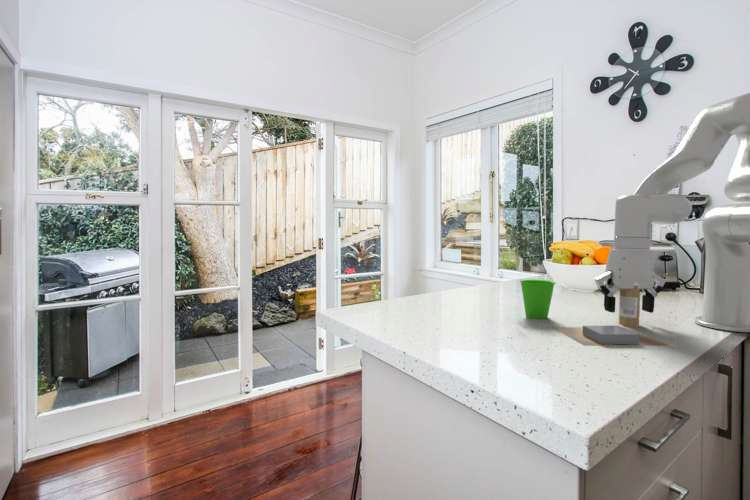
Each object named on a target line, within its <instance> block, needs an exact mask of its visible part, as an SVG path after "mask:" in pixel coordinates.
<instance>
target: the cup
mask: <svg viewBox="0 0 750 500" xmlns="http://www.w3.org/2000/svg"><path fill="white" fill-rule="evenodd" d="M519 283H520V285H521V290H522V291H521V292H522V299H523V304H524V314H525V317H526V318H527V319H528V318H529V319H535V320H546V319H548V317H549V312H550V307H551V302H552V298H553V297H552V296H553V291H554V287H555V285H556V282H555V281H553V280H545V279H521V280H520V281H519Z"/></svg>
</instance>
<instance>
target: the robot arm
mask: <svg viewBox="0 0 750 500" xmlns="http://www.w3.org/2000/svg"><path fill="white" fill-rule="evenodd" d="M732 136H735V137H736V139H737V142H738V150H737V153H736V156H735V159H734V161H733V163H732V166H731V168H730V171H729V173H728V175H727V178H726V181H725V184H724V188H723V189H724V190H723V191H724V195H725V196H726V197H727V199H729V200H731V201H734V202H739V203H735V204H734V203H733V204H732V203H731V204H724V205H719V206H716V207H713V208H712V209H710V210H709V211H707V212H706V213H705V215H704V216H703V219H702V223H701V228H702V233H703V239H704V244H705V261H704V262H705V264H704V265H705V266H704V280H703V281H704V283H703V300H702V316H701V315H700V316H696V317H695V318H694V323H695V324H697V325H700V326H703V327H706V328H710V329H715V330H721V331H729V332H737V333H738V332H739V333H750V203H749V202H750V92H749V93H744V94H741V95H738V96H735V97H732V98H730V99H726V100H724V101H723V100H722V101H721V102H717V103H714V104H712V105H709V106H706V108H704V109H703V110H701V111H700V112H699V113H698V115H697V116H696V117H695V119H694V121H693V122H692V123H691V125H690V126H689V128H688V130H687V132H686V134H684V137H683V138H682V140H681V142H680V143H679V145H678V146H677V148H676V149H675V151H674V153H673V154H672V155H671V156H670V157H669V158H668V159H666V160H665V161H664V162H663V163H661V165H659V166H658V167H656V168H655V170H653V171H652V172H651V173H650V174H649V175H647V176H646V178H644V179H643V181H641V182H640V185H638V187H637V189H636V191H635V192H634V194H626V195H621V196H619V197H618V198H617V199H616V200H615V210H614V235H613V249H610V250H609V252H608V255H607V260H606V265H605V272H604V273H603V274H601V275H598V276H597V277H595V278H594V282H595V284H596V286H597V289H598V290H599V291H600V292H601V294H602V295H603V296H604V297H603V298H604V299H603V308H604V311H606V312H609V313H613V314H614V313H615V312H616V300H617V299H616V297H615V296H614V295H615V294H616V293H617V292H618V291H620V289H628V290H629V289H633V288H634V286H638V287H637V288H638V289H640V291H642V292H643V294H642V298H641V299H642V300H641V311H644V312H646V313H650V314H651V313H652V314H653V313H654V310H655V298H657V297H658V295H659V293H660V292H661V291H662V290H663V287H664V285H665V283H666V282H667V281H666V278H664V277H662V276H660V275H658V274H657V273H655V272H656V271H655V270H656V269H655V259H654V254H653V250H651V246H653V245H654V244H655V241H654V240H653V239H651V237H652V236H651V233H652V232H651V231H652V225H675V224H679V223H682V222H684V221H686V220H687V219H688V218H689V217H690V215H691V213H692V211H693V205H692V202H691V201H690V200H689V199H688V197H686V196H684V195H681V194H679V193H669V192H671V191H672V190H674V189H675V188H677V187H679V186H680V185H681V184H684V183H685V182H687V181H690V180H692V179H694V178H696V177H698V176H700V175H702V174H703V173H705V172H707V171H709V170H710V169H711V168H712V167H713V166H714V164H715V163H716V161H717V159H718V158H719V156H720V155H721V153H722V151H723V149H724V148H725V146H726V145H727V143H728V142H729V140H730V139H731V137H732ZM741 202H742V203H741ZM746 202H747V203H746ZM636 282H638V284H639V285H634V283H636Z"/></svg>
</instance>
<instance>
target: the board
mask: <svg viewBox="0 0 750 500" xmlns="http://www.w3.org/2000/svg"><path fill="white" fill-rule="evenodd" d="M621 327H622V326H621ZM622 328H625V329H627V330H630V331H632V332H635V333H637V334H640V336H639V344H601V343H599V342H597V341H595V340H593V339H591V338H589V337H587V336H585V335H583V326H582V327H579V326H576V327H575V326H573V327H571V326H569V327H568V326H567V327H566V326H565V327H561V326H559V327H557V326H553V327H552V329H554V330H556V331H557V332H559V333H561V334H563V335H564V336H566V337H568V338H569V339H572V340H573V341H576V342H577V343H579V344H581V345H582V346H670V344H668V343H666V342H663V341H661V340H659V339H656V338H652V337H651V336H649V335H645V334H643V333H641V332H638V331H635V330H633V329H631V328H627V326H623V327H622Z"/></svg>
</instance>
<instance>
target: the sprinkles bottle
mask: <svg viewBox="0 0 750 500" xmlns="http://www.w3.org/2000/svg"><path fill="white" fill-rule="evenodd" d="M634 285H639V284H638V282H636V283H634ZM637 287H638V286H634V288H633V289H629V290H628V289H619V296H618V297H619V302H618V303H619V304H618V324H619V325H622V326H624V327H639V326H640V316H641V314H640V313H641V304H640V303H641V290H640V289H638V288H637Z"/></svg>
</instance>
